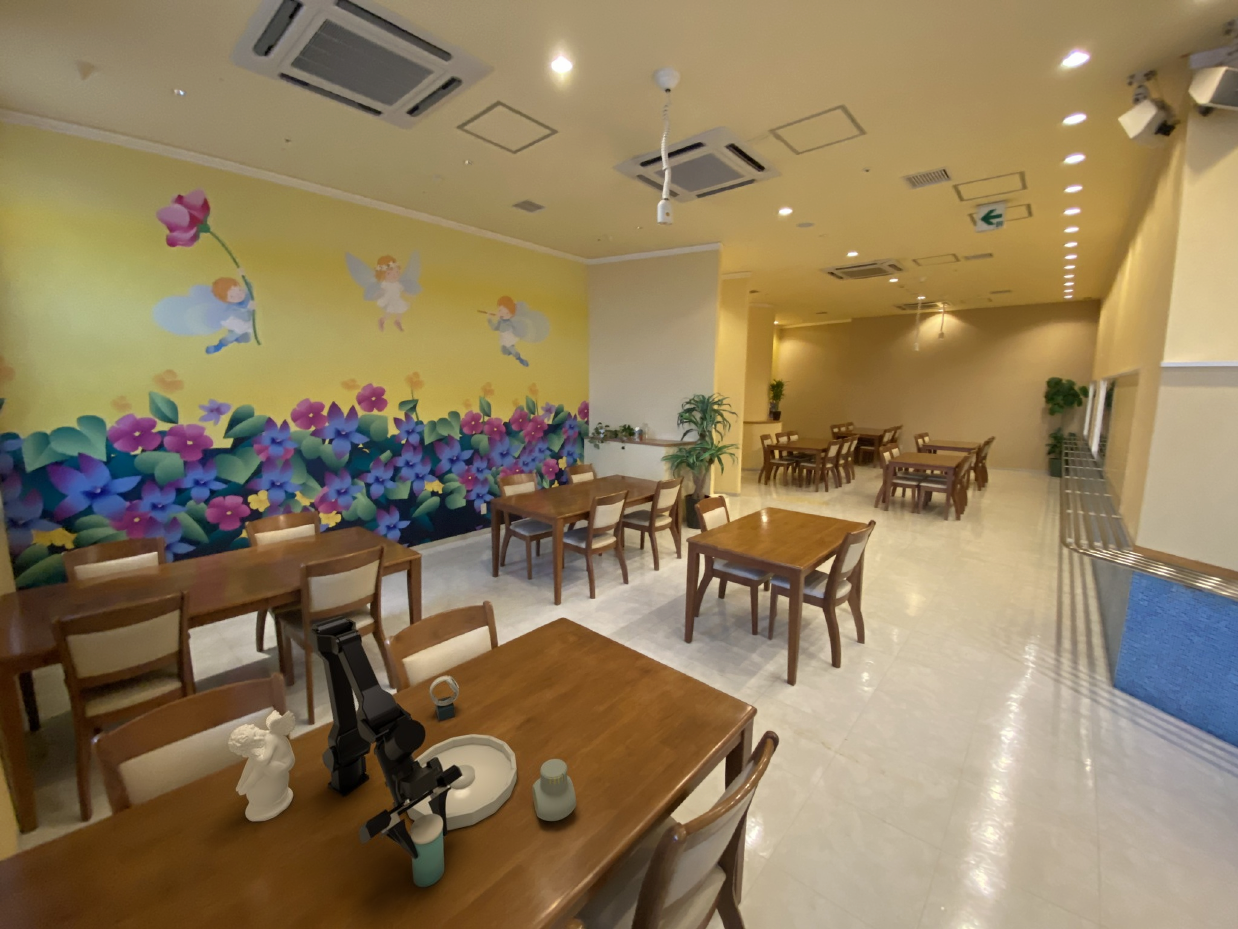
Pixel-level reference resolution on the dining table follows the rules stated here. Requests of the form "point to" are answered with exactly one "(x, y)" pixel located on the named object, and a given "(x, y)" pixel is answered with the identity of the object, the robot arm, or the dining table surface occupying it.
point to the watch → (445, 705)
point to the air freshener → (553, 791)
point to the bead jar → (428, 849)
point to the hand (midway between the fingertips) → (431, 847)
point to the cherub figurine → (265, 765)
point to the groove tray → (471, 778)
